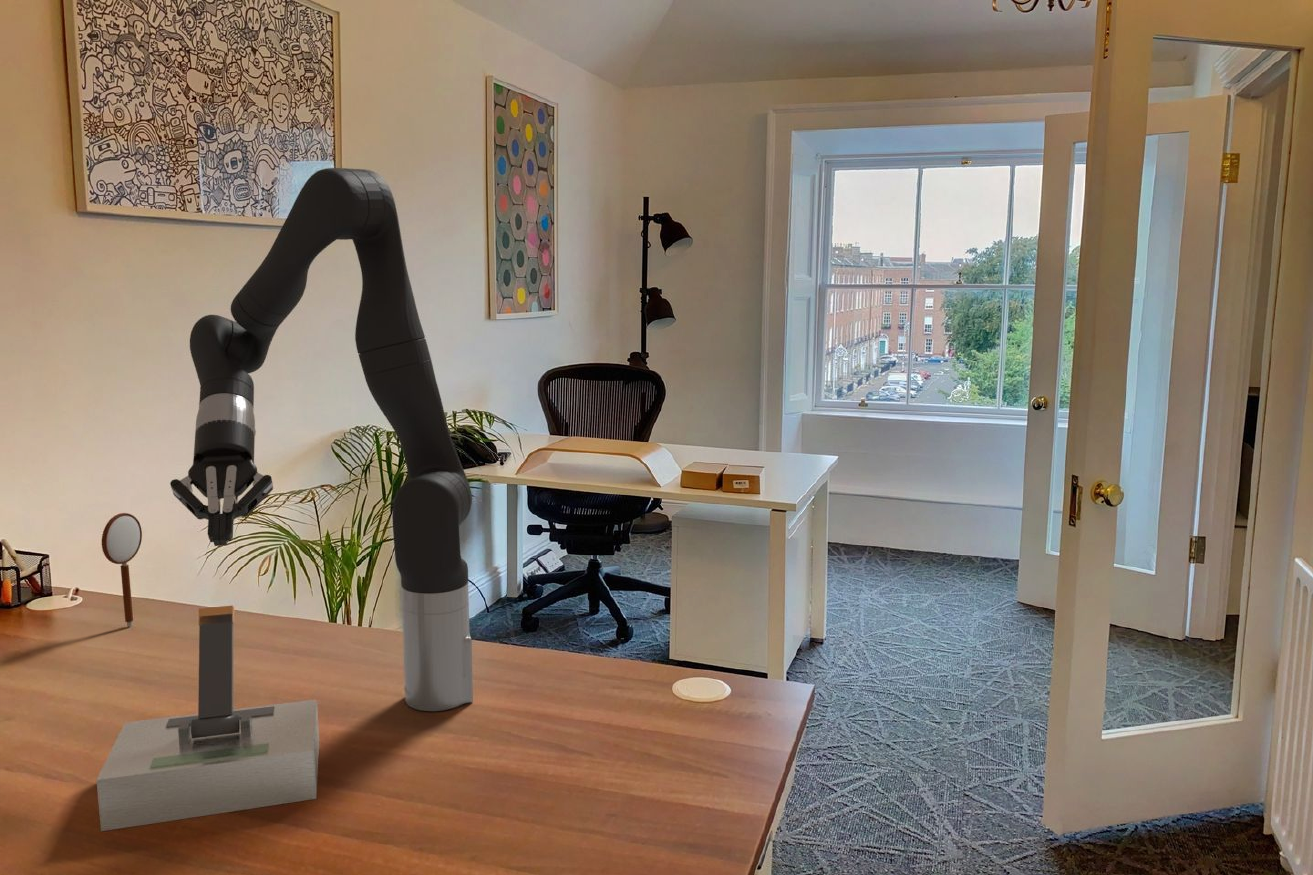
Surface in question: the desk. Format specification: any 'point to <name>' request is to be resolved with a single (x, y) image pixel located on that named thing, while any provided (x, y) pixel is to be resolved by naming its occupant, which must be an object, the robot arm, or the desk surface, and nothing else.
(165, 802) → the breaker box
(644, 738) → the desk surface
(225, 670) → the breaker lever
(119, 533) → the magnifying glass
